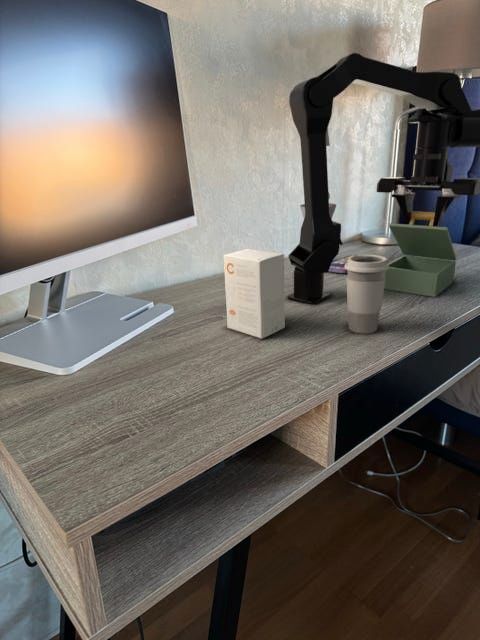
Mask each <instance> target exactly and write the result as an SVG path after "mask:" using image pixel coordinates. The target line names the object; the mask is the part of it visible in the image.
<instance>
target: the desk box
mask: <svg viewBox="0 0 480 640" xmlns="http://www.w3.org/2000/svg"><path fill="white" fill-rule="evenodd" d="M387 263H388V264H389V269H388V270H386V272H385V277H386V279H385V285H384V290H389V291H395V292H402V293H407V294H414V295H419V296H426V297H432V298H436V297H437V296H438V295H439V294H441V293H442V292H443V291H444V290H445V289H447V288H448V287H449V286H450V285H452V284H453V283H454V278H455V272H456V271H455V270H456V265H457V264H456V263H457V260H456V261H454V260H446V259H437V258H428V257H419V256H410V255H403V254H402V255H401V256H399V257H397V258H396V259H394V260H391V261H390V262H387Z"/></svg>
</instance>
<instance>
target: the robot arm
mask: <svg viewBox="0 0 480 640" xmlns="http://www.w3.org/2000/svg"><path fill="white" fill-rule="evenodd" d="M351 84H353V85H354V84H355V85H358V86H362V87H364V88H365V87H366V88H370V89H374V90H377V91H380V92H384V93H388V94H392V95H396V96H400V97H401V98H404V99H405V100H407V102H408V103H410V104H411V105H413V106H414V107H417V108H418V109H417V111H416V112H415V113H414V114H413V115H412V116H411V117H410V118H408V120H407V122H408V124H418V125H417V134H416V143H415V151H414V152H415V153H413V155H412V160H413V171H412V176H410V180H406V177H405V176H403V177H402V176H387V177H381V178H380V179H379V180H378V181H377V183H376V193H385V194H386V193H387V194H391V193H392V192H393V194H391V198H394V199H396V203H397V204H398V206H399V209H400V210H401V213H402V217H403V220H404V223H405V224H407V225H409V223H410V220H411V213H412V211H414V210H413V209H414V199H415V196H416V192H412V191H432V192H433V191H434V192H435V191H437V192H441V193H442V194H441V195H438V196H437V197H436V202H435V210H434V212H435V216H434V222H433V226H435V227H440V224H441V222H442V221H443V219H444V216H445V214H446V213H447V211H448V209H449V207H450V206H451V204H452V203H453V202H454V200H457V199H461V197H462V196H475V195H476V196H477V195H479V194H480V178H479V177H458V178H453V181H451V180H452V176H453V172H454V168H453V167H452V165H451V164H450V163H449V153H448V149H449V148H479V147H480V108H478V109H477V108H476V109H472V108H471V105H470V103H469V101H468V98H467V97H466V94H465V91H464V90H463V88H462V81H461V77H460V75H458V74H457V73H455V72H447V71H423V72H422V71H416V70H412V69H409V68H406V67H405V68H404V67H401V66H397V65H394V64H391V63H387V62H383V61H381V60H378V59H377V60H376V59H373V58H370V57H365V56H364V55H362V54H361V53H358V52H352V53H350V54H348V55H346V56H343V57H341V58H339V60H338V61H337V62H335V64H334V65H332V66H330V67H329V68H327V69H326V70H325V71H323V72H322V73H320V74H319V75H317V76H315V77H311V78H309V79H306V80H304V81H301V82H299V83H298V84H296V85H295V86H293V88H292V90H291V91H290V93H289V96H288V97H289V99H288V102H289V103H288V104H289V107H290V112H291V116H292V121H293V124H294V125H295V128H296V131H297V133H298V135H299V139H300V155H301V167H302V171H301V172H302V184H303V185H302V186H303V201H304V204H305V218H304V217H303V220H302V224H301V228H300V234H299V243H298V244H297V245H296V247H294V249H292V251H291V252H290V253H289V254H288V259H289V263H290V264H291V266H294V269H293V293H291V294H289V295H287V297H286V298H287V299H288V300H292V301H297V302H301V303H306V304H311V305H316V304H318V303H319V302H321V301H323V300H325V299H328V298H329V297H330V293H329V292H324V281H325V280H324V278H325V277H324V276H325V274H327V273H329V272H330V271H329V269H330V266H331V263H332V261H334V260H335V258H336V257H337V256H338V255H339V252H340V246H343V241H342V238H341V235H342V223H340V222H337V221H334V220H333V218H332V219H331V217H330V213H329V203H330V198H329V194H330V192H329V175H328V154H327V152H328V151H327V146H326V132H327V129H328V130H329V125H330V123H331V120H332V119H331V118H332V116H333V115H332V114H333V108H334V107H333V106H334V99H335V98H336V97H337V96H339V95H340V94H341V93H343V92H344V91H345V90H346V89H347V88H348V87H349V86H351ZM448 147H449V148H448ZM328 192H329V193H328Z"/></svg>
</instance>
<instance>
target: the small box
mask: <svg viewBox="0 0 480 640" xmlns="http://www.w3.org/2000/svg"><path fill="white" fill-rule="evenodd" d="M223 267H224V287H225V305H226V308H225V309H226V324H227V325H226V327H227V328H228V329H230V330H233V331H236V332H239V333H243V334H245V335H249V336H252V337H255V338H258V339H264V338H267V337H268V336H271V335H273V334H275V333H277V332H279V331H281V330H283V329H284V328H285V327H286V309H285V307H286V304H285V303H286V302H285V301H286V300H285V299H286V298H285V295H286V294H285V293H286V292H285V254H284V253H280V252H273V251H266V250H259V249H253V248H246V249H242V250H238V251H234V252H230V253H226V254H223Z"/></svg>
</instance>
